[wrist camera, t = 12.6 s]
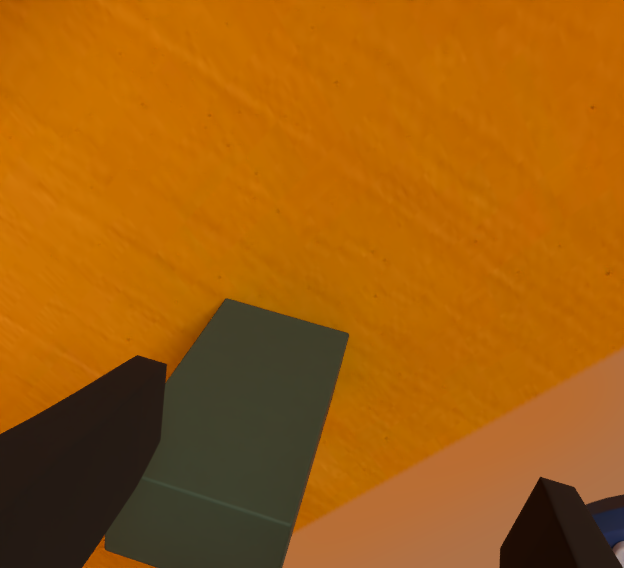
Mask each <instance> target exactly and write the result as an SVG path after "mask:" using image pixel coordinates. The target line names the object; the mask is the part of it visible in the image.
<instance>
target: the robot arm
mask: <svg viewBox="0 0 624 568" xmlns="http://www.w3.org/2000/svg"><path fill="white" fill-rule="evenodd" d="M166 368H167V364H165V363H161V362H158V361H155V360H151V359H148V358H145V357H141V356H138V355H137V356H135V357H133V358H132V359H130V360H128V361H126V362H125V363H123V364H121V365H120V366H118V367H117V368H115V369H113V370H112V371H110V372H108V373H107V374H105V375H103V376H102V377H100V378H99V379H97V380H95V381H94V382H92V383H90V384H89V385H87V386H85V387H84V388H82V389H80V390H79V391H77V392H76V393H74V394H72V395H70V396H69V397H67V398H65V399H63V400H62V401H60V402H58V403H57V404H55V405H53V406H51V407H50V408H48V409H46V410H44V411H43V412H41V413H39V414H37V415H36V416H34V417H32V418H30V419H28V420H26V421H25V422H23V423H21V424H19V425H17V426H15V427H13V428H11V429H9V430H7V431H5V432H3V433H2V434H0V568H82V567H83V566H84V564H85V563H86V561H87V560H88V558H89V557H90V556H91V554H92V553H93V551H94V550H95V548H96V547H97V545H98V544H99V542H100V541H101V539H102V538H103V536H104V535H105V533H106V532H107V531H108V529H109V528H110V526H111V525H112V523H113V522H114V520H115V519H116V517H117V516H118V514H119V513H120V511H121V510H122V508H123V507H124V505H125V504H126V502H127V501H128V499H129V498H130V496H131V495H132V493H133V492H134V490H135V489H136V487H137V485H138V483H139V482H140V480H141V478H142V476H143V474H144V472H145V470H146V468H147V466H148V464H149V462H150V460H151V459H152V457H153V455H154V453H155V451H156V449H157V447H158V445H159V443H160V441H161V429H162V416H163V404H164V392H165V380H166ZM500 568H624V541H621V542H618V543H617V544H616V545H615V546H614V548H613V549H611V547H610V546H609V544H608V542H607V541H606V539H605V537H604V536H603V534H602V532H601V531H600V529H599V527H598V526H597V524H596V522H595V520H594V519H593V517H592V515H591V514H590V512H589V510H588V509H587V507H586V505H585V504H584V502H583V501H582V499H581V497H580V496H579V494H578V492H577V491H576V489H575V488H574V487H572V486H569V485H565V484H562V483H559V482H555V481H552V480H549V479H546V478H542V477H540V478H539V480H538V482H537V484H536V485H535V487H534V489H533V491H532V493H531V494H530V496H529V498H528V500H527V502H526V503H525V505H524V507H523V509H522V510H521V512H520V514H519V516H518V518H517V519H516V521H515V523H514V525H513V526H512V528H511V530H510V532H509V534H508V535H507V537H506V539H505V541H504V542H503V544H502V546H501V548H500Z"/></svg>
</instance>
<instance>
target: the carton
mask: <svg viewBox="0 0 624 568" xmlns="http://www.w3.org/2000/svg"><path fill="white" fill-rule="evenodd" d="M348 338H349V334H348V333H345V332H342V331H338V330H335V329H331V328H328V327H324V326H321V325H317V324H314V323H310V322H307V321H304V320H300V319H297V318H293V317H290V316H286V315H283V314H279V313H276V312H272V311H269V310H265V309H262V308H258V307H255V306H251V305H248V304H244V303H241V302H237V301H234V300H230V299H225V300H224V302H223V303H222V305H221V306H220V307H219V309H218V310H217V312H216V313H215V314H214V316H213V317H212V319H211V320H210V321H209V323H208V324H207V326H206V327H205V328H204V330H203V331H202V333H201V334H200V335H199V337H198V338H197V340H196V341H195V342H194V344H193V345H192V347H191V348H190V349H189V351H188V352H187V354H186V355H185V356H184V358H183V359H182V361H181V362H180V363H179V365H178V366H177V368H176V369H175V370H174V372H173V373H172V375H171V376H170V377H169V379H168V380H167V382H166V383H165V392H164V404H163V416H162V429H161V441H160V443H159V445H158V447H157V449H156V451H155V453H154V455H153V457H152V459H151V460H150V462H149V464H148V466H147V468H146V470H145V472H144V474H143V476H142V478H141V480H140V482H139V483H138V485H137V487H136V489H135V490H134V492H133V493H132V495H131V496H130V498H129V499H128V501H127V502H126V504H125V505H124V507H123V508H122V510H121V511H120V513H119V514H118V516H117V517H116V519H115V520H114V522H113V523H112V525H111V526H110V528H109V529H108V531H107V532H106V533H105V550H107V551H110V552H113V553H116V554H118V555H121V556H124V557H127V558H130V559H133V560H136V561H139V562H142V563H145V564H148V565H151V566H154V567H157V568H282V566H283V563H284V559H285V556H286V553H287V549H288V546H289V542H290V539H291V536H292V532H293V529H294V526H295V522H296V519H297V515H298V512H299V509H300V505H301V502H302V498H303V495H304V492H305V488H306V485H307V481H308V478H309V475H310V471H311V468H312V464H313V461H314V458H315V454H316V451H317V447H318V444H319V441H320V437H321V434H322V430H323V427H324V424H325V420H326V417H327V414H328V410H329V407H330V403H331V400H332V396H333V393H334V389H335V385H336V382H337V378H338V374H339V371H340V367H341V363H342V360H343V356H344V352H345V349H346V345H347V341H348Z"/></svg>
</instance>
